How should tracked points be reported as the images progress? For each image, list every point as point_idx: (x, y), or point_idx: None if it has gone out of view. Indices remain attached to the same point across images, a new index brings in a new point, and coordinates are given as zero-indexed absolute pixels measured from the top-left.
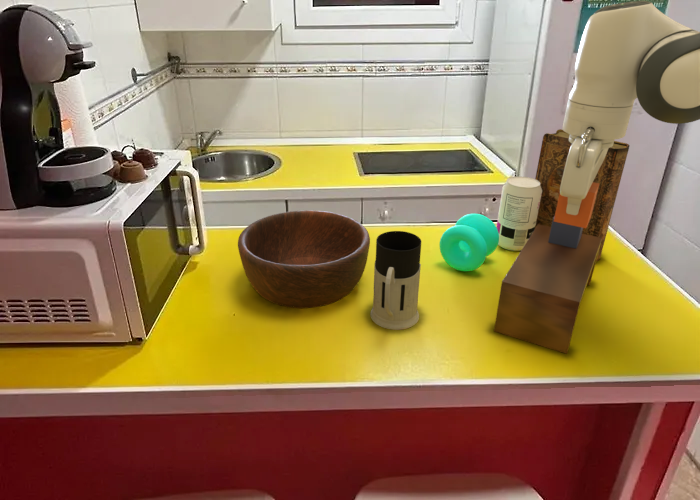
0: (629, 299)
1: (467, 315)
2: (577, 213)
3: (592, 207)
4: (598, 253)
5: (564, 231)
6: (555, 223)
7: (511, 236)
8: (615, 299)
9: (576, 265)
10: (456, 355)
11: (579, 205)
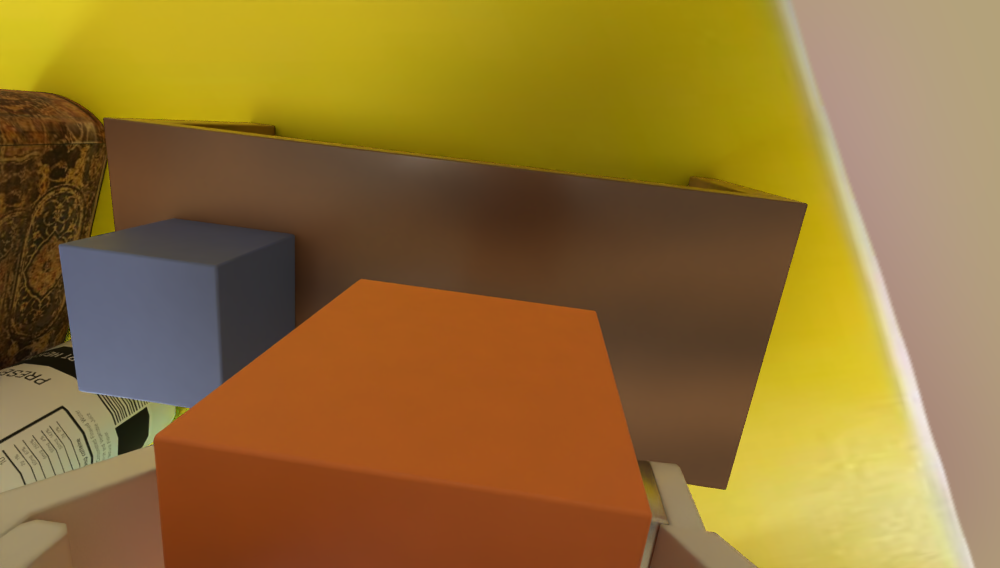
0: None
1: None
2: (679, 471)
3: (451, 343)
4: (50, 104)
5: (256, 322)
6: None
7: (142, 419)
8: (322, 33)
9: (466, 228)
10: (814, 450)
11: (701, 529)
